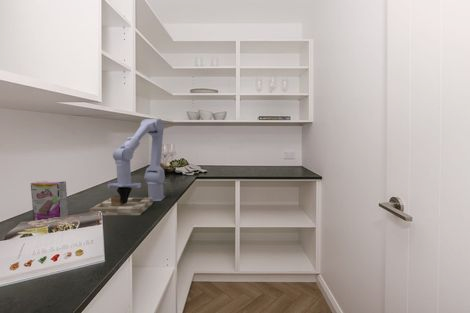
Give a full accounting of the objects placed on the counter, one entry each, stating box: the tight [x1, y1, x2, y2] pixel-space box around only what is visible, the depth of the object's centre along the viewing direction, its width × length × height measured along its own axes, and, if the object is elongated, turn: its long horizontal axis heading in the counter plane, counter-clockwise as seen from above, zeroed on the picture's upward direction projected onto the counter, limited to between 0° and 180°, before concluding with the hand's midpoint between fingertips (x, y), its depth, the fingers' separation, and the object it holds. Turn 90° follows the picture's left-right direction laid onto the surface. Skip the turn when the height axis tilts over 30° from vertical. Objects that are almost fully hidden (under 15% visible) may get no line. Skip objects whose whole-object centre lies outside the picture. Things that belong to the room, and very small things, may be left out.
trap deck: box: [89, 197, 154, 216], centre depth 112 cm, size 18×22×3 cm
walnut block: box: [110, 195, 123, 206], centre depth 108 cm, size 4×4×4 cm
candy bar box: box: [30, 180, 69, 221], centre depth 97 cm, size 11×5×16 cm, turn 92°
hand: (125, 203), depth 108 cm, fingers closed
